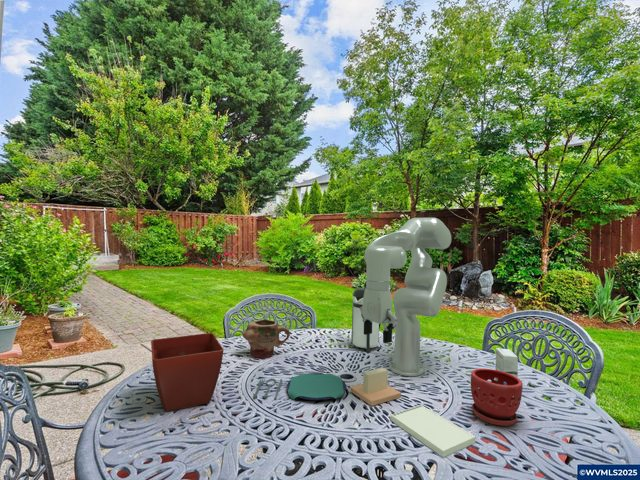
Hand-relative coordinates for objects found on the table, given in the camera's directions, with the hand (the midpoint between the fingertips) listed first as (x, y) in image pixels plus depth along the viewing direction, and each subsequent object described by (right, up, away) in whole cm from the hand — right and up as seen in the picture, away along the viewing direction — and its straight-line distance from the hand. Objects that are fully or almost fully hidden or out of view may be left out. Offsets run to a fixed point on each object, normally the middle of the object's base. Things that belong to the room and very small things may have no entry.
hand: (377, 338), depth 109 cm
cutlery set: (-25, -18, +3) cm, 31 cm away
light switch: (-1, -18, 0) cm, 18 cm away
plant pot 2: (+32, -20, -12) cm, 39 cm away
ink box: (+47, -20, +9) cm, 52 cm away
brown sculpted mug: (-42, -17, +34) cm, 56 cm away
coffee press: (+3, -18, +47) cm, 51 cm away
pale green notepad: (+11, -19, -20) cm, 29 cm away
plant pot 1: (-60, -17, -6) cm, 63 cm away
